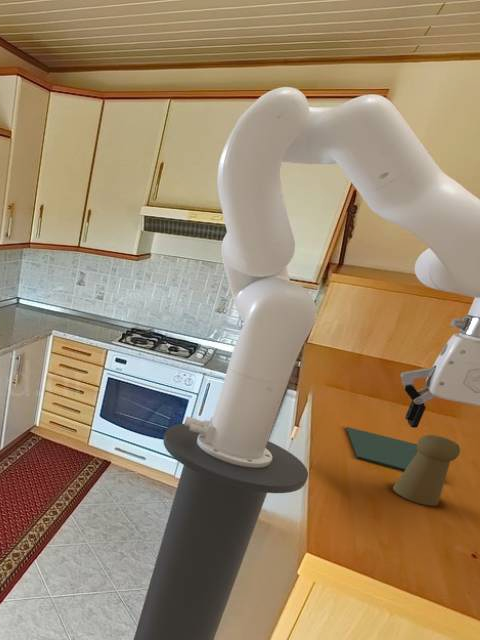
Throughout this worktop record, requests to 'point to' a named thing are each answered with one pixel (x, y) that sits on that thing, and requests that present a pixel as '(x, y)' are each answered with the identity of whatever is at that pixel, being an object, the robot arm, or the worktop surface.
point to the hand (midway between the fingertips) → (449, 433)
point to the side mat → (382, 449)
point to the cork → (427, 470)
